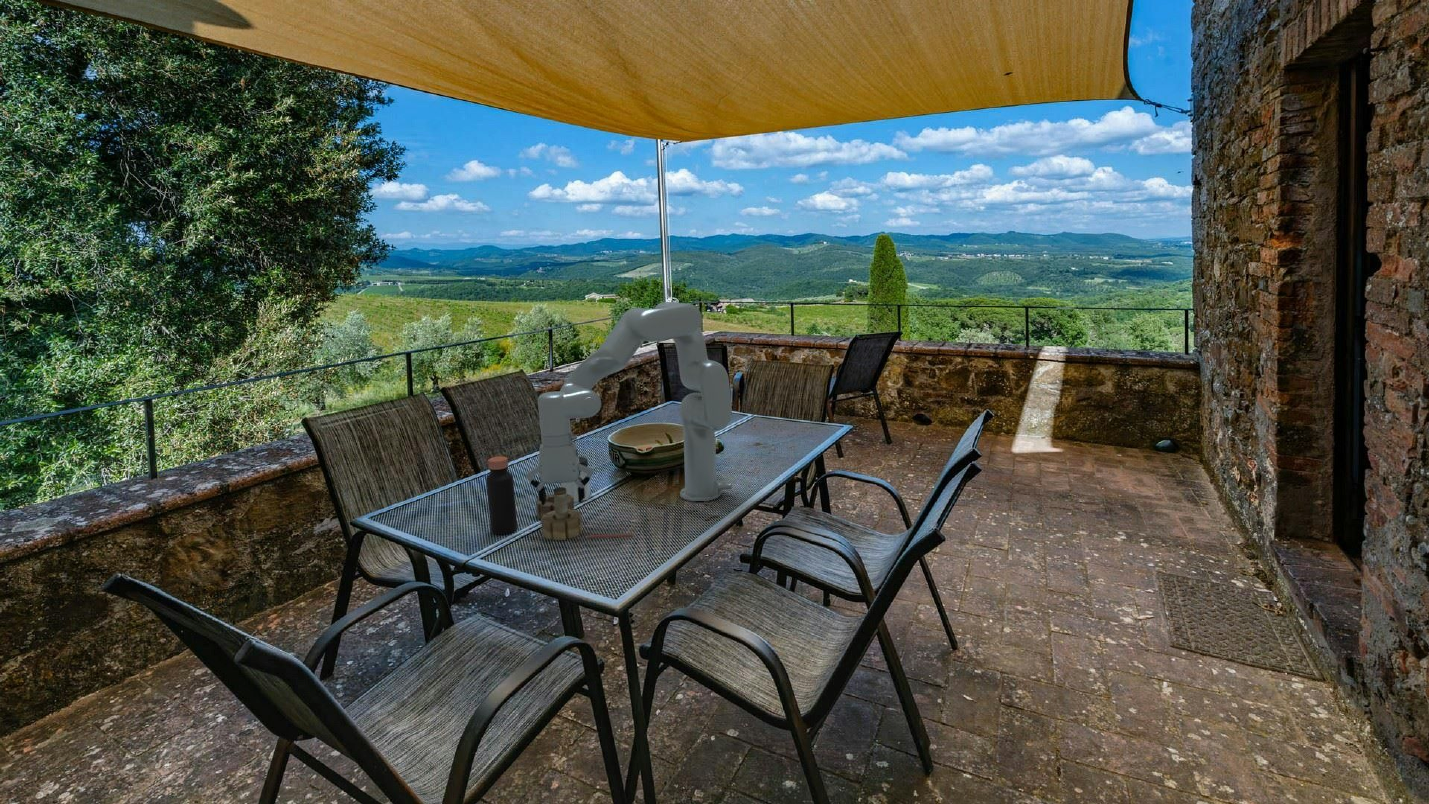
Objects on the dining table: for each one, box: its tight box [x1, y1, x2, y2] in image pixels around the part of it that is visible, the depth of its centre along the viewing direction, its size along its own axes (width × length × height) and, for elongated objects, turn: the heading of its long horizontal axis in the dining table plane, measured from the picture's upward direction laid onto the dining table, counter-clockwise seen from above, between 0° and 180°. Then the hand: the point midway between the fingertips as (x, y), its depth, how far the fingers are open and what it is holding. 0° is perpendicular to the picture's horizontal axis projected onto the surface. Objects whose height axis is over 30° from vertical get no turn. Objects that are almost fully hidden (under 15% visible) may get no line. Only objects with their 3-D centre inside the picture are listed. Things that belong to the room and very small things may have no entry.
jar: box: [560, 455, 591, 504], centre depth 198 cm, size 9×8×12 cm
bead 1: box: [535, 493, 575, 520], centre depth 186 cm, size 10×10×4 cm
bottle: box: [485, 456, 518, 536], centre depth 173 cm, size 7×7×20 cm
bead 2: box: [540, 508, 583, 541], centre depth 173 cm, size 10×10×4 cm
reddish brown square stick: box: [586, 533, 635, 539], centre depth 170 cm, size 12×1×1 cm, turn 94°
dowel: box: [553, 486, 568, 520], centre depth 172 cm, size 3×3×12 cm
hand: (562, 502), depth 172 cm, fingers open, 9 cm apart
